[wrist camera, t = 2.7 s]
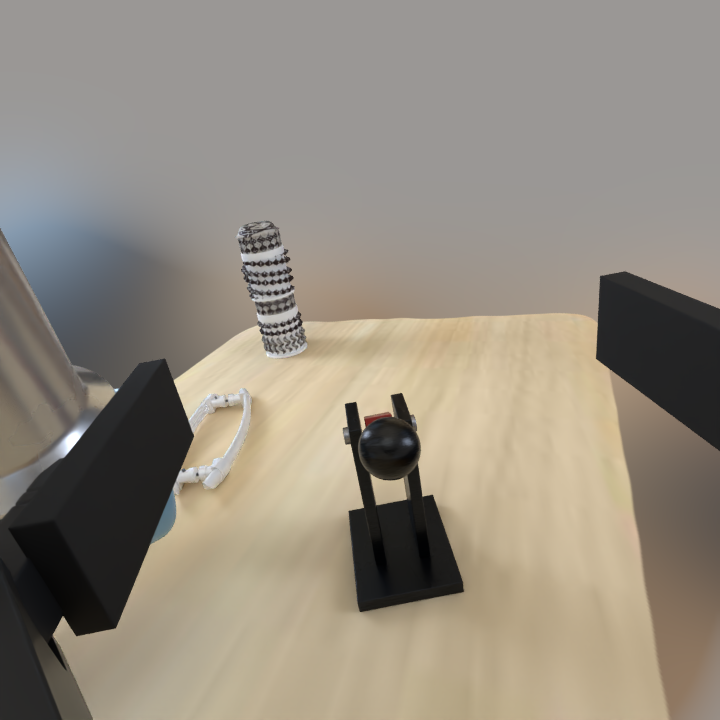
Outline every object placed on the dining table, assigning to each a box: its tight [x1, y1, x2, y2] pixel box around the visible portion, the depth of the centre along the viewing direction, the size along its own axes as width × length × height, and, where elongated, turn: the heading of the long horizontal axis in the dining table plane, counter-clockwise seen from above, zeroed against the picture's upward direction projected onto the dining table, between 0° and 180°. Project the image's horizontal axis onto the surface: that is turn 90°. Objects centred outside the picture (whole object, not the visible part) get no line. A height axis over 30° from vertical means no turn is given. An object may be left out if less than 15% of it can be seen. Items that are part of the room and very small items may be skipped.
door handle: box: [173, 388, 252, 495], centre depth 68 cm, size 3×10×25 cm
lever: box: [358, 412, 421, 480], centre depth 33 cm, size 15×4×4 cm, turn 5°
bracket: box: [343, 393, 464, 612], centre depth 42 cm, size 11×9×16 cm
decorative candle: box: [235, 221, 307, 359], centre depth 91 cm, size 9×9×25 cm
